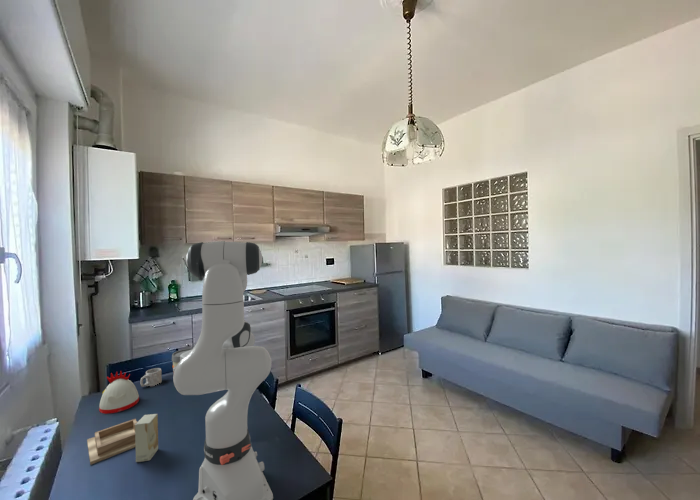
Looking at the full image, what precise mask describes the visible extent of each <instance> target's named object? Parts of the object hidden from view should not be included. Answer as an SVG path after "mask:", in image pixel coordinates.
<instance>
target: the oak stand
mask: <svg viewBox="0 0 700 500" xmlns="http://www.w3.org/2000/svg"><path fill="white" fill-rule="evenodd" d="M137 422H138V421H137V418H136V417H135V418H133V419H130V420H127V421H124V422H121V423H118V424H116V425H112V426H110V427H106V428H104V429H101V430H98V431H95V432H94V436H93V437H90V438H87V439H86V445H87V449H88V459H89V464H90V466H91V465H93V464H96V463H99V462H102V461H104V460H107V459H109V458H111V457H115V456H116V455H119V454H121V453H124V452H127V451H129V450H132V449H134V448H136V446H135V424H136V423H137Z"/></svg>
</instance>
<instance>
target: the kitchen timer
mask: <svg viewBox="0 0 700 500" xmlns="http://www.w3.org/2000/svg"><path fill="white" fill-rule="evenodd" d="M126 374H127V372H124V374H123V372H122V370H120V372H119V374H118V371H116V372H115V376H114V374H113V373H112V372H111V373H110V377H109V376H106V379H107V381H108V382H109V384H108V385H107V386H106V388H105V389H104V390H103V391H102V393H101V394H102V395H101V398H100V401H99V407H98V410H99V413H101V414H105V415H106V414H116V413H118V412H123V411H125V410H129V409H131V408H133V407H134V406H135V405H137V404H138V403H139V401H140V395H139V391H138V390H137V387H136V385H135V384H134V383H133V381H132V380H129V378H130V376H131V374H130V373H129V374H128V376H126Z"/></svg>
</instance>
